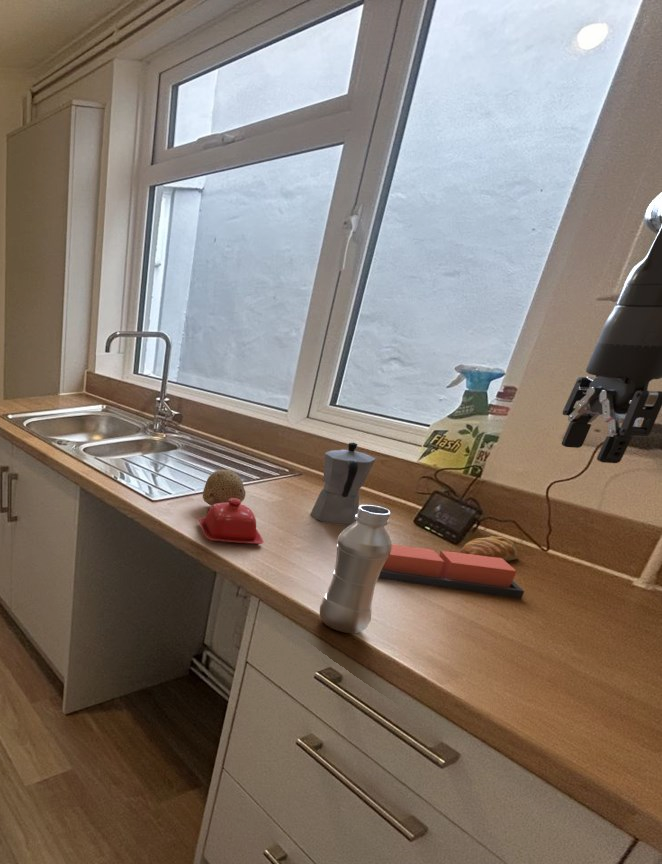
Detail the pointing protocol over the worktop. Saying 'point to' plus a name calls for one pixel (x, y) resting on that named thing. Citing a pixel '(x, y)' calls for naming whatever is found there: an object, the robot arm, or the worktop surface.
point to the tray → (454, 584)
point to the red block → (476, 569)
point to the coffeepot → (342, 485)
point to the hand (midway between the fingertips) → (588, 454)
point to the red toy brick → (414, 561)
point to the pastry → (491, 548)
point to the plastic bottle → (357, 571)
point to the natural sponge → (223, 487)
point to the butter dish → (231, 523)
